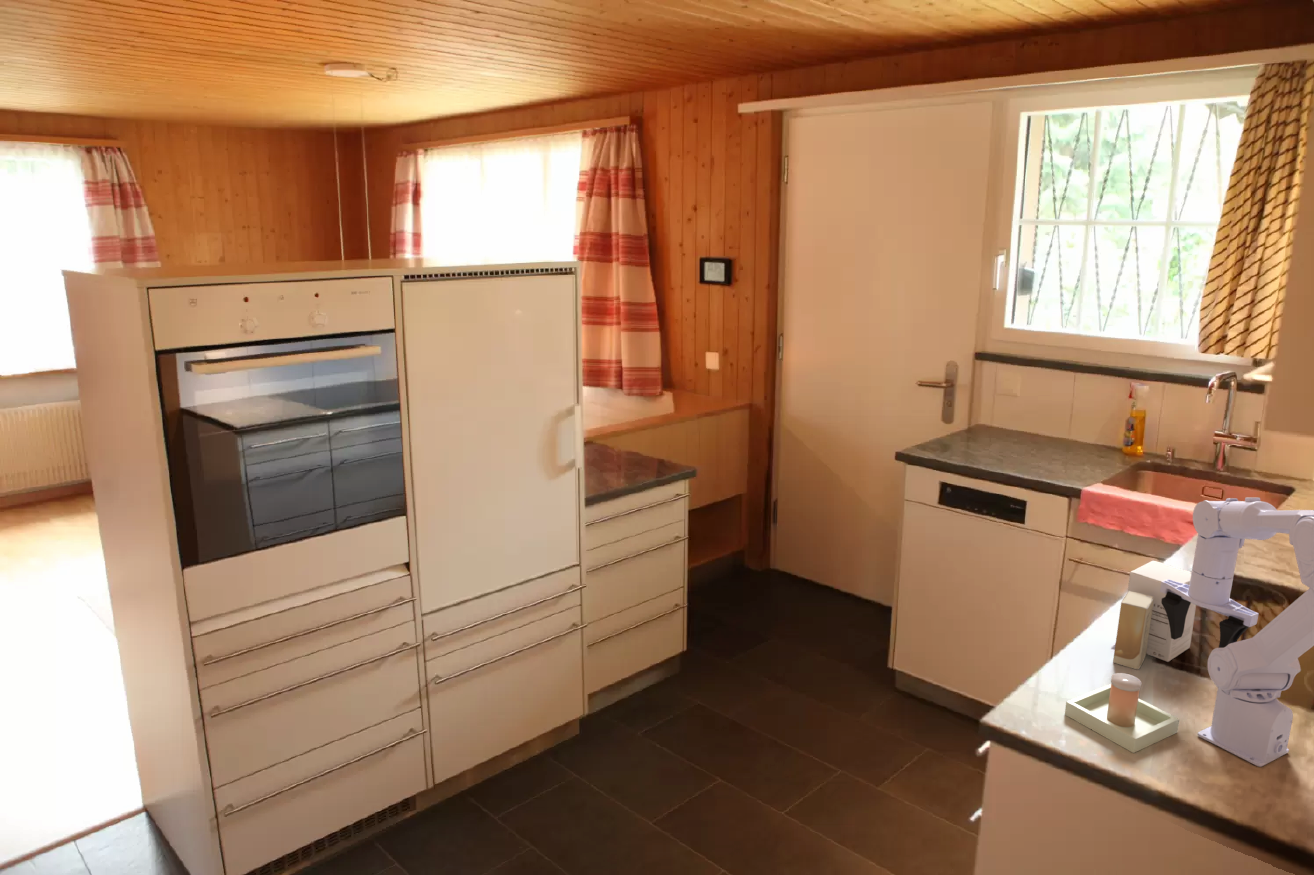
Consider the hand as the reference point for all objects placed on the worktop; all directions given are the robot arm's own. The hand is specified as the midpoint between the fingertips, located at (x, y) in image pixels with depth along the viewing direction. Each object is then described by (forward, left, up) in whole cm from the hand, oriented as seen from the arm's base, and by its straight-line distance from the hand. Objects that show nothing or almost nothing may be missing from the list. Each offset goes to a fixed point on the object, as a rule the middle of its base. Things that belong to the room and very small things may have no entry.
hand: (1199, 647), depth 147 cm
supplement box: (+14, -12, -10) cm, 21 cm away
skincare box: (+13, -3, -10) cm, 17 cm away
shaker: (+1, +17, -9) cm, 19 cm away
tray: (+1, +17, -9) cm, 20 cm away
